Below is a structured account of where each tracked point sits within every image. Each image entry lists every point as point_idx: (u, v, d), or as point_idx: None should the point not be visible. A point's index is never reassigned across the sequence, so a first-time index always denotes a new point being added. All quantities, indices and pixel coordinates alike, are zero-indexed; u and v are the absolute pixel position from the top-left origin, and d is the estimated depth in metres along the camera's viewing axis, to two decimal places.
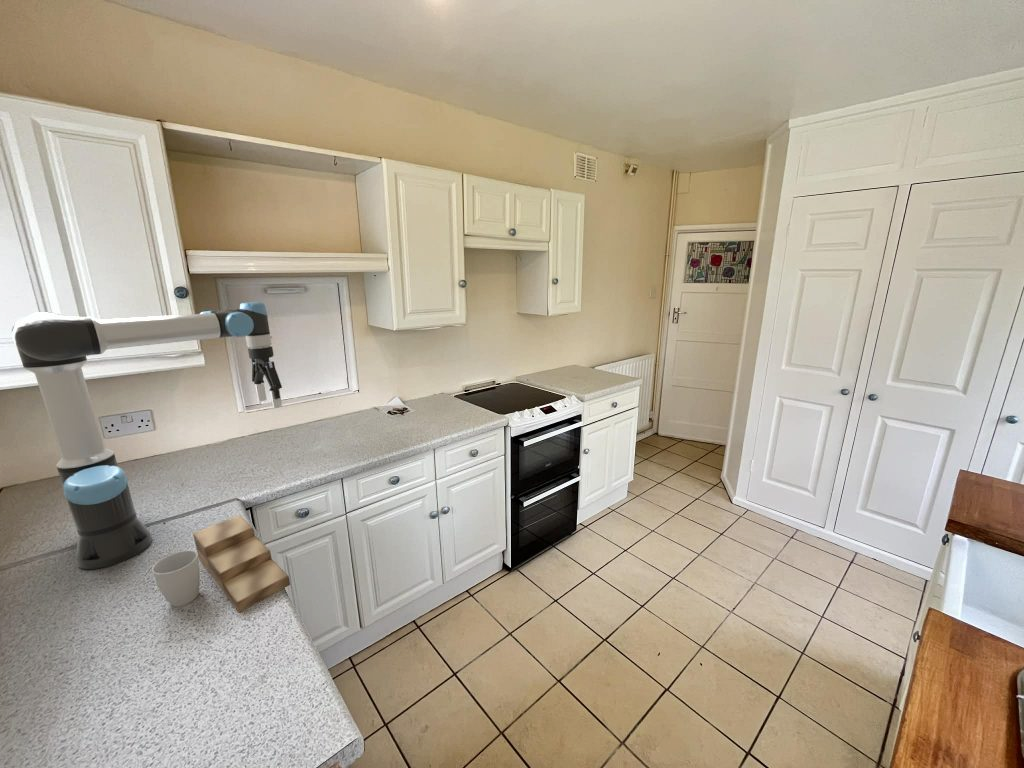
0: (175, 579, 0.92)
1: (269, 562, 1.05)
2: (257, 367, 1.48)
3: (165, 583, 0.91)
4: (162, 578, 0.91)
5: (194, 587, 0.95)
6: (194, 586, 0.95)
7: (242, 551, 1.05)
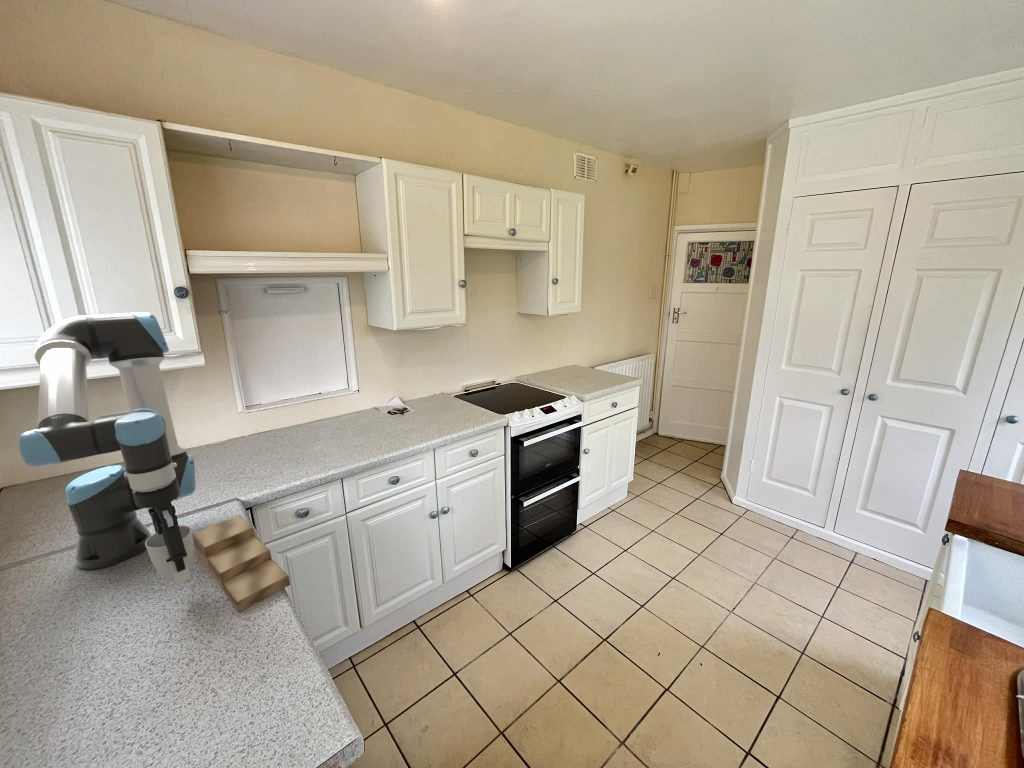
0: (168, 553, 0.90)
1: (269, 562, 1.05)
2: None
3: (158, 557, 0.90)
4: (155, 552, 0.90)
5: (188, 562, 0.94)
6: (188, 561, 0.94)
7: (242, 551, 1.05)
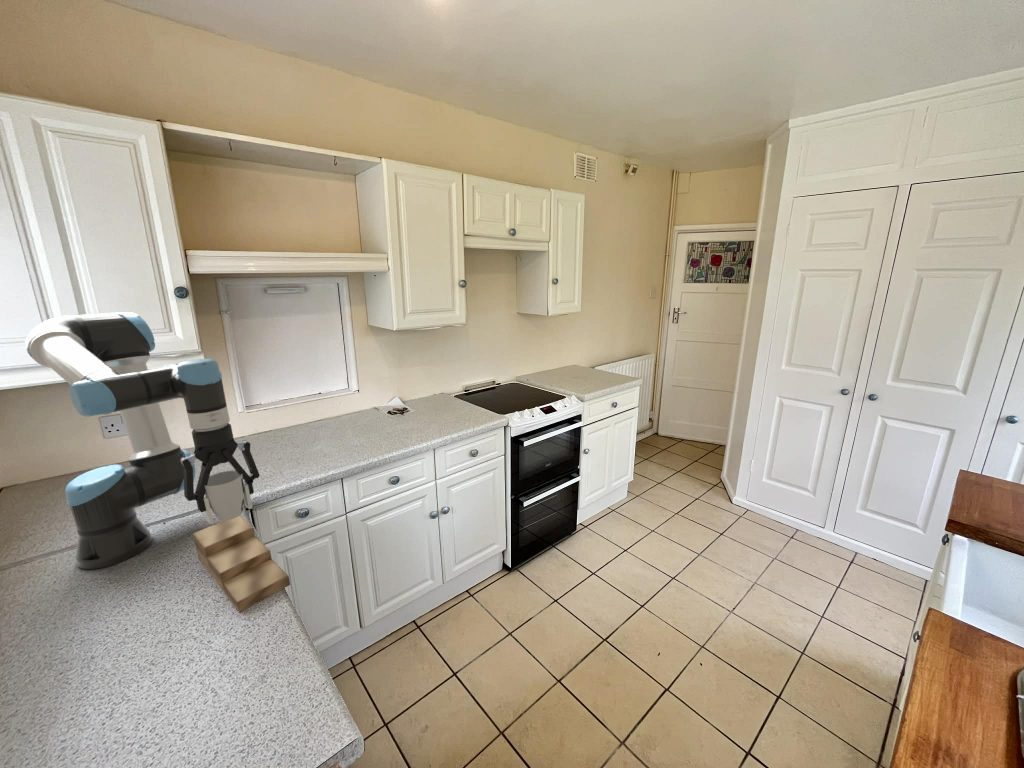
0: None
1: (269, 562, 1.05)
2: None
3: None
4: None
5: (216, 510, 0.98)
6: (215, 509, 0.98)
7: (242, 551, 1.05)
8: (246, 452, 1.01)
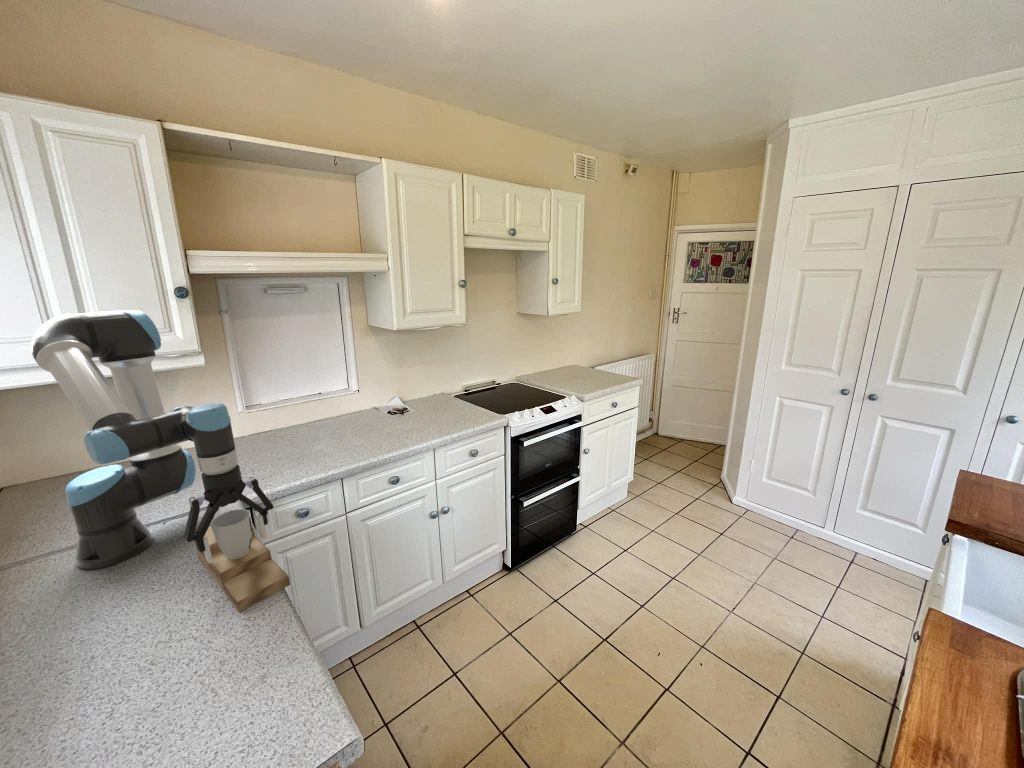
0: (213, 531, 1.00)
1: (269, 562, 1.05)
2: None
3: None
4: None
5: (224, 550, 1.00)
6: (224, 549, 1.00)
7: None
8: (255, 489, 1.04)
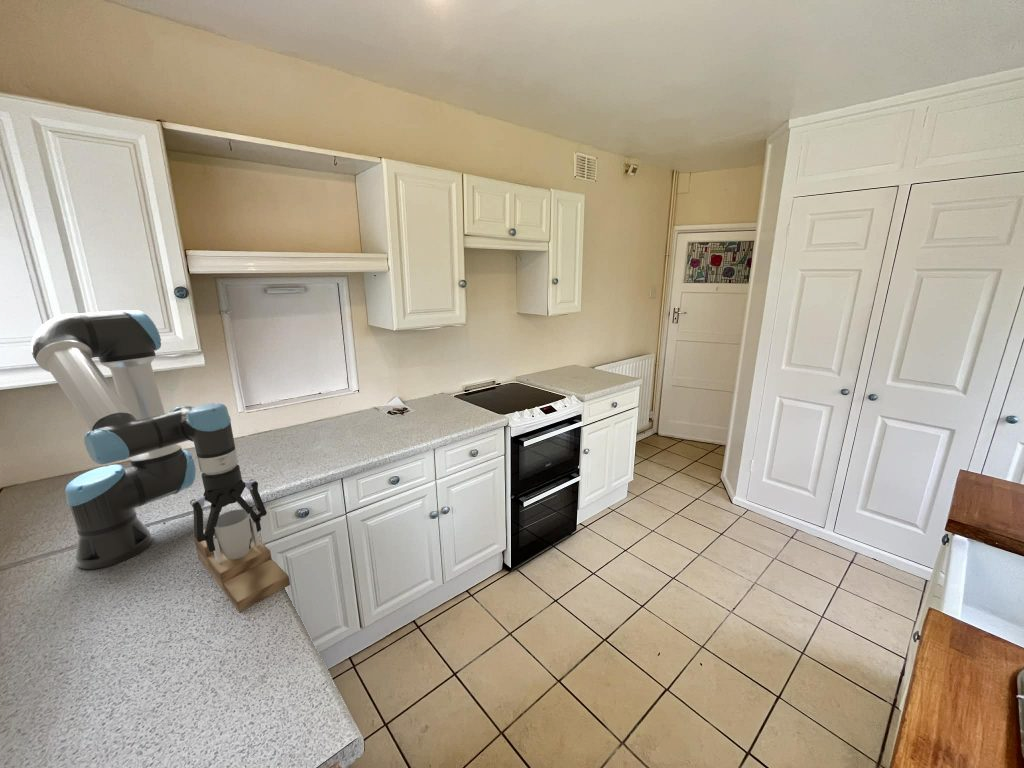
0: None
1: (269, 562, 1.05)
2: None
3: None
4: None
5: (224, 549, 1.00)
6: (224, 549, 1.00)
7: None
8: (254, 491, 1.04)
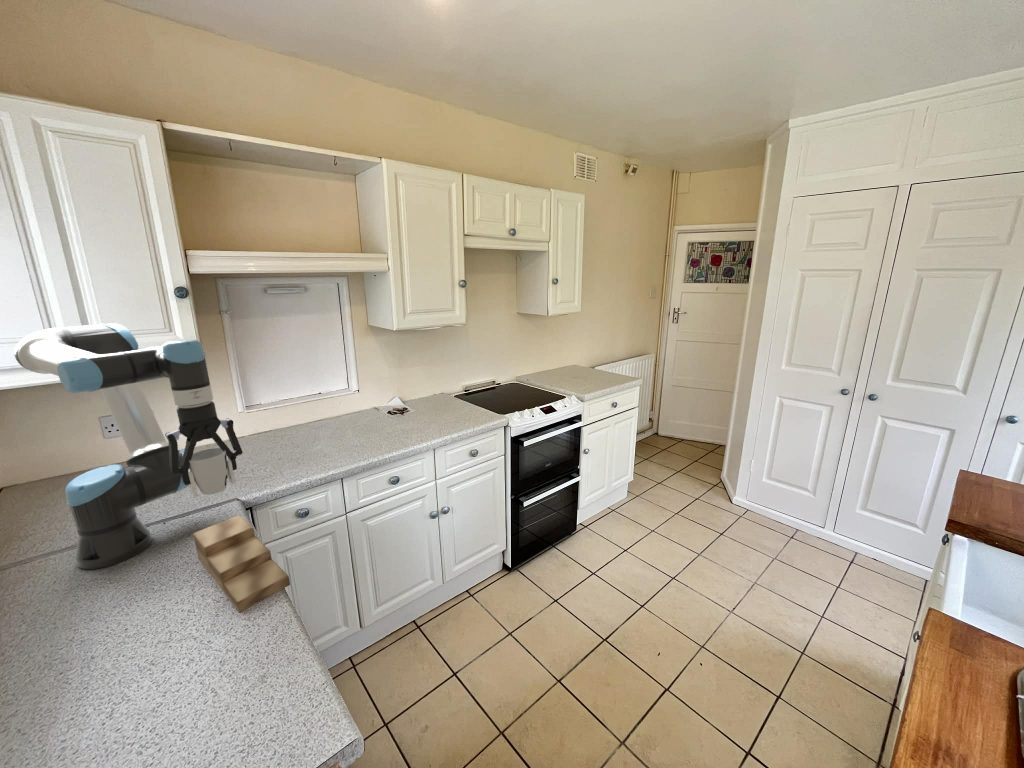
0: None
1: (269, 562, 1.05)
2: None
3: None
4: None
5: (200, 484, 1.03)
6: (200, 483, 1.03)
7: (242, 551, 1.05)
8: (229, 429, 1.07)
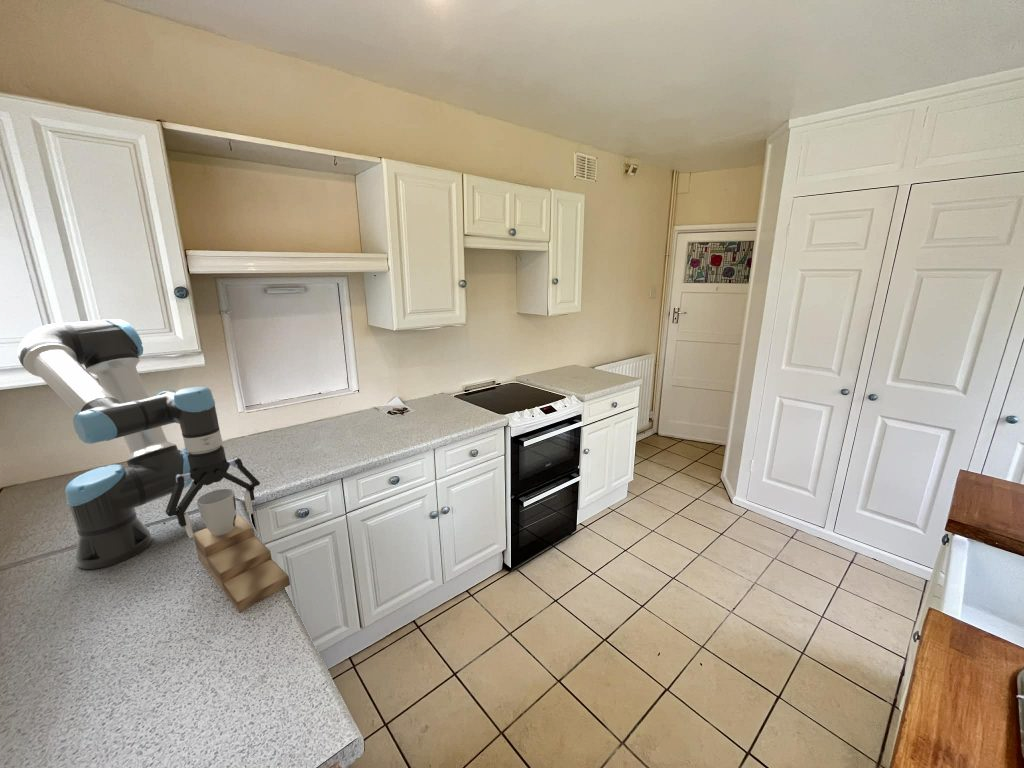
0: None
1: (269, 562, 1.05)
2: None
3: None
4: None
5: (209, 526, 1.06)
6: (209, 525, 1.06)
7: (242, 551, 1.05)
8: (240, 467, 1.10)
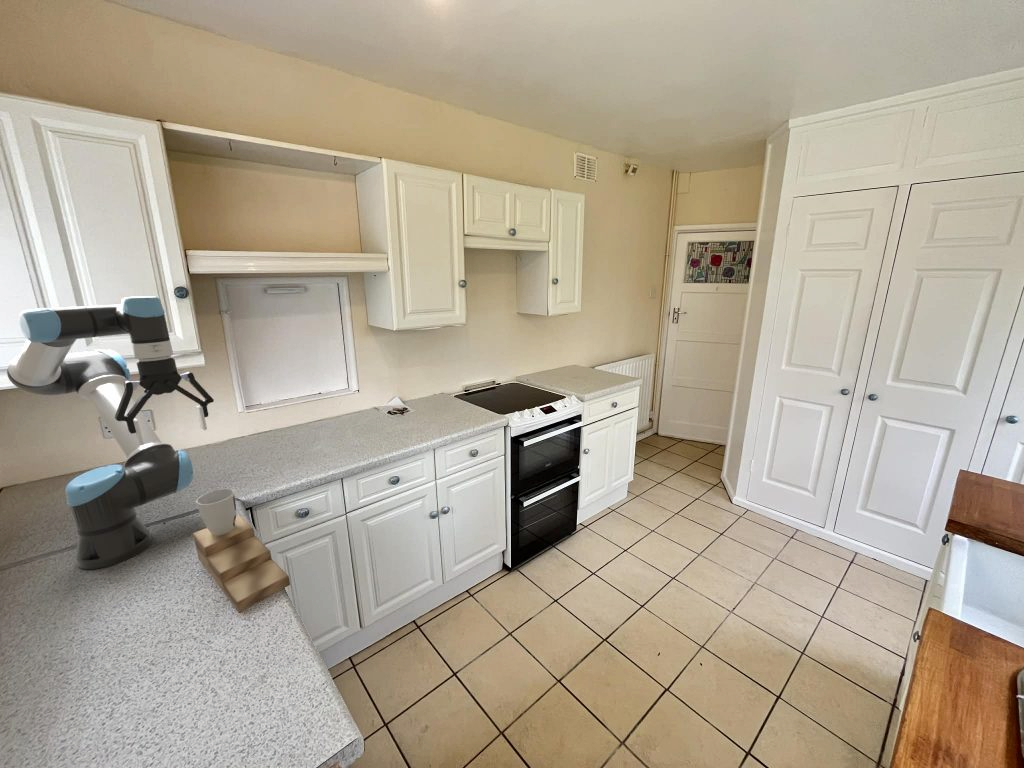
0: None
1: (269, 562, 1.05)
2: None
3: None
4: None
5: (209, 526, 1.06)
6: (209, 525, 1.06)
7: (242, 551, 1.05)
8: (192, 381, 1.12)
